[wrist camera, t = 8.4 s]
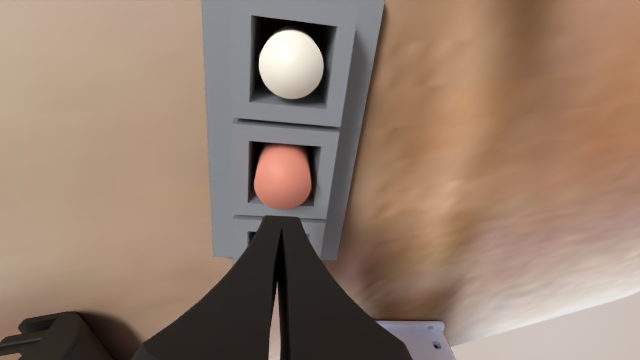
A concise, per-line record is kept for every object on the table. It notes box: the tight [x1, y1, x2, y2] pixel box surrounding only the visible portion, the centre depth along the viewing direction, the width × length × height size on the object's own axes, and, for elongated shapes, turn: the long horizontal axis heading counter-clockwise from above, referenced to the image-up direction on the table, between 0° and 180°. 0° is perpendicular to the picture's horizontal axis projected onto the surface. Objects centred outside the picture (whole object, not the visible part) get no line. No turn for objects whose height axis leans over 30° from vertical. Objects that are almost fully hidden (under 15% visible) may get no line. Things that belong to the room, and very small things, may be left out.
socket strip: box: [201, 0, 385, 288], centre depth 19 cm, size 9×18×5 cm, turn 173°
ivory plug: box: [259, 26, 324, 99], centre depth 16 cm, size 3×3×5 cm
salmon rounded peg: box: [254, 142, 311, 210], centre depth 18 cm, size 3×3×5 cm
